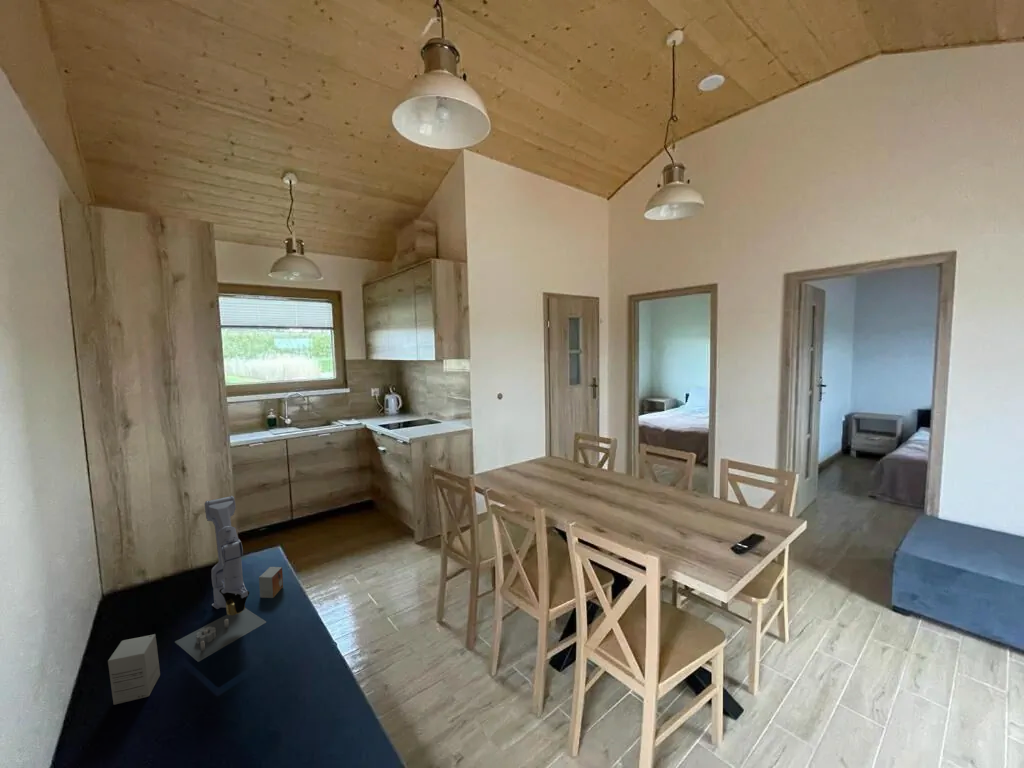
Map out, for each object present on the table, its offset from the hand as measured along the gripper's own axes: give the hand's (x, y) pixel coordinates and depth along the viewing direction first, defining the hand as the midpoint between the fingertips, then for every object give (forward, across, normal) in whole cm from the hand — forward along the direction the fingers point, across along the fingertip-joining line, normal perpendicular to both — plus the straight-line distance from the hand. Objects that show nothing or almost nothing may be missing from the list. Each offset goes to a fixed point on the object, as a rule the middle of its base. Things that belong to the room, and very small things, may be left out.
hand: (235, 608), depth 159 cm
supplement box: (+9, +1, -30) cm, 32 cm away
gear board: (+9, -2, -4) cm, 10 cm away
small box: (+9, -9, +19) cm, 23 cm away
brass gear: (+1, 0, 0) cm, 1 cm away
